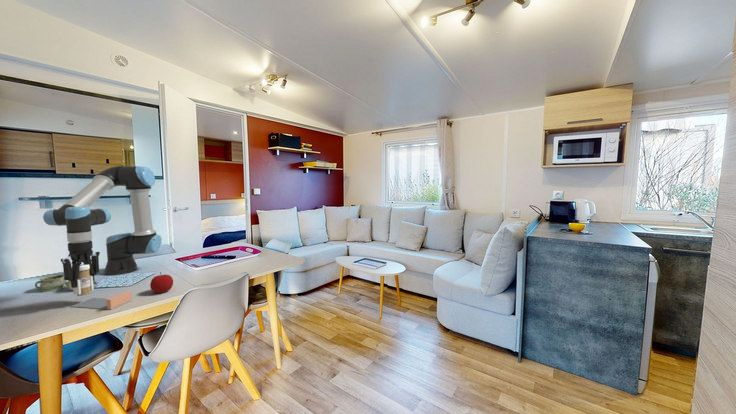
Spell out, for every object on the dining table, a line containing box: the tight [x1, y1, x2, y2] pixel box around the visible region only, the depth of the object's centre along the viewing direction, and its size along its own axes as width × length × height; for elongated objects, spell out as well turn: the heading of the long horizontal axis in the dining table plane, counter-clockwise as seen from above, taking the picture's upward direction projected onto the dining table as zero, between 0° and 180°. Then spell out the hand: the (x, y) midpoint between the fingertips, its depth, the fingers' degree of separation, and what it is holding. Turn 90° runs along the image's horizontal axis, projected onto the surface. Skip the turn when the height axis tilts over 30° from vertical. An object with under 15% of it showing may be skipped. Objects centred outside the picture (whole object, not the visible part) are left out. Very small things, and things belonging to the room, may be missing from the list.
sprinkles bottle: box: [76, 263, 92, 297], centre depth 121 cm, size 5×5×14 cm
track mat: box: [70, 291, 132, 310], centre depth 121 cm, size 9×20×4 cm, turn 84°
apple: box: [149, 272, 174, 294], centre depth 136 cm, size 9×9×10 cm
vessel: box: [34, 274, 68, 293], centre depth 137 cm, size 12×9×6 cm
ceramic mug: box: [66, 280, 99, 292], centre depth 139 cm, size 11×8×8 cm
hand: (84, 291), depth 122 cm, fingers closed on sprinkles bottle, 4 cm apart
